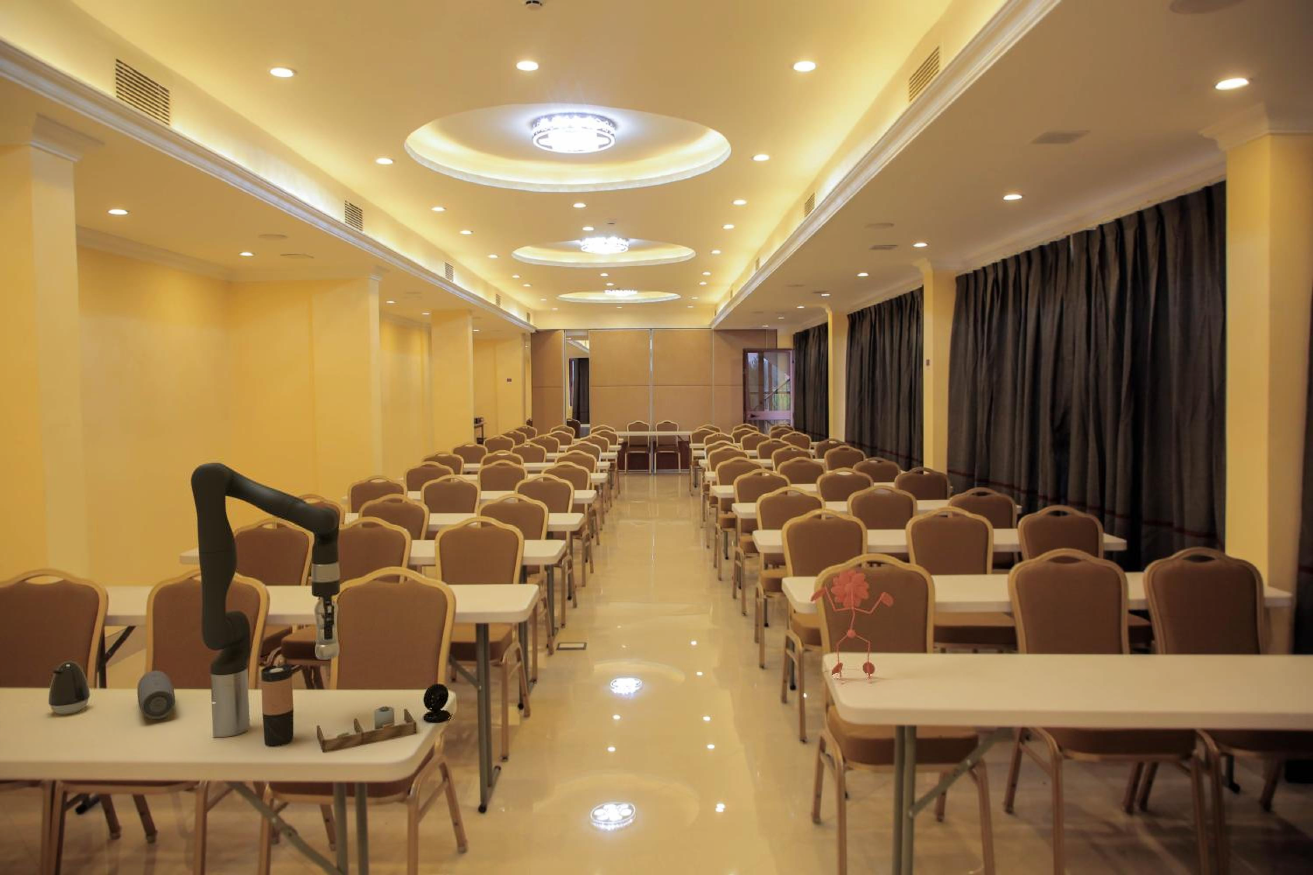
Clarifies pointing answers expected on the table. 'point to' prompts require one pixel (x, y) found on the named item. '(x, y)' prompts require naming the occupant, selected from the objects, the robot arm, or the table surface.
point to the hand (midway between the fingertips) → (326, 636)
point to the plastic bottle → (323, 647)
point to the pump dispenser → (68, 689)
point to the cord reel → (383, 716)
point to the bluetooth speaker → (155, 695)
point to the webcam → (436, 703)
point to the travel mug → (277, 705)
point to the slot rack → (367, 734)
